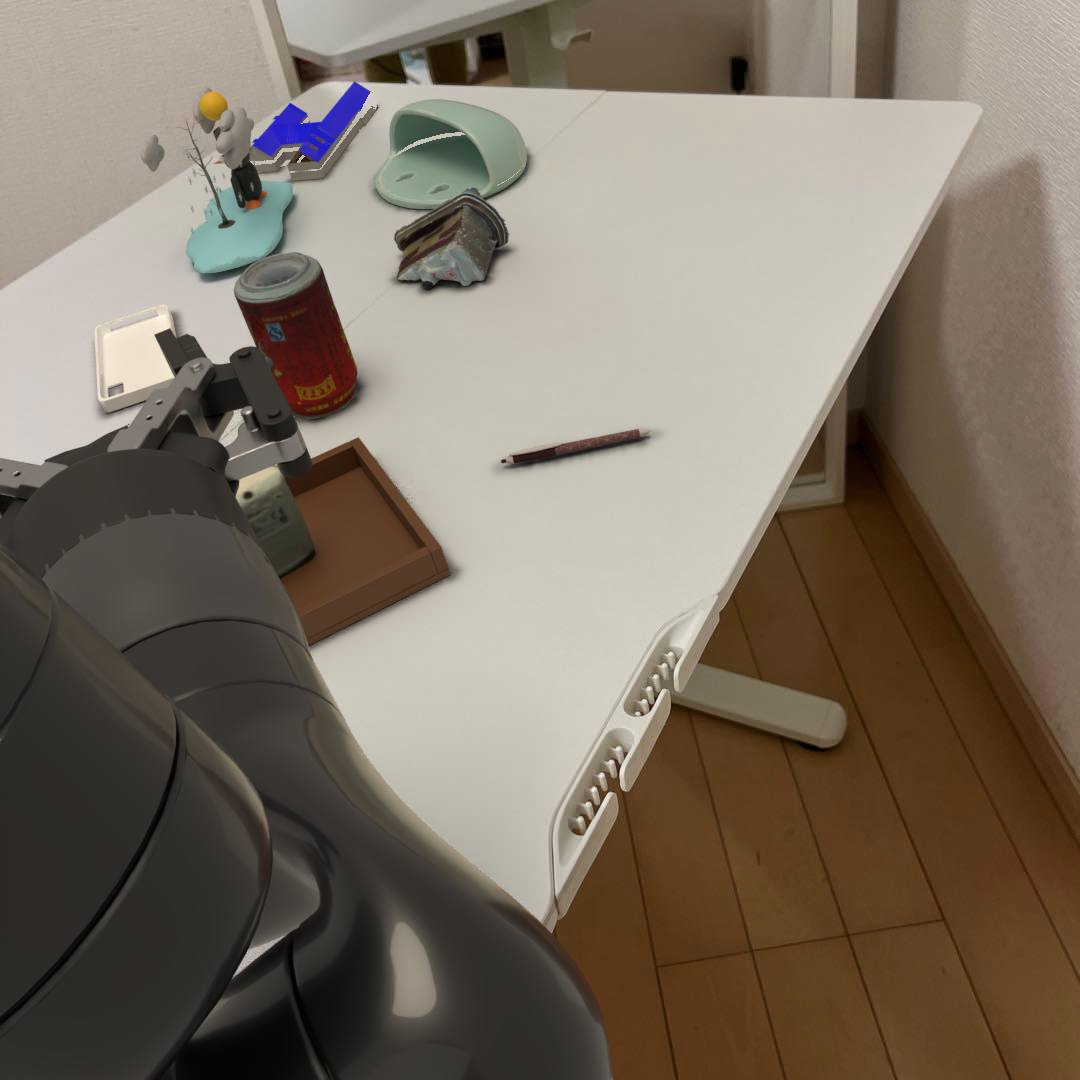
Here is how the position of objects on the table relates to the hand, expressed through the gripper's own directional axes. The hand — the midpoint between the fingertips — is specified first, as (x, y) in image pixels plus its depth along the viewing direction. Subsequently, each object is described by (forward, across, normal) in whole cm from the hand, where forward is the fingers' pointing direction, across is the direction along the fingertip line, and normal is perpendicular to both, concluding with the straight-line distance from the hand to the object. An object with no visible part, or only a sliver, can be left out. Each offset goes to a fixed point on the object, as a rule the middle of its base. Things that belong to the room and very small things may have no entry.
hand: (70, 391), depth 45 cm
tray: (+18, -5, +28) cm, 33 cm away
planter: (+69, -42, +28) cm, 85 cm away
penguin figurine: (+74, -19, +28) cm, 81 cm away
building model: (+92, -33, +28) cm, 102 cm away
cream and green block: (+18, -5, +27) cm, 33 cm away
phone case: (+56, -3, +28) cm, 63 cm away
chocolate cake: (+49, -32, +28) cm, 65 cm away
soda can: (+37, -15, +28) cm, 49 cm away
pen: (+16, -28, +28) cm, 43 cm away
